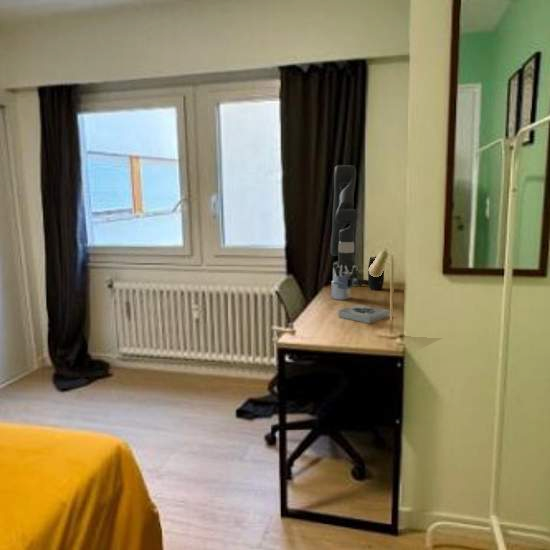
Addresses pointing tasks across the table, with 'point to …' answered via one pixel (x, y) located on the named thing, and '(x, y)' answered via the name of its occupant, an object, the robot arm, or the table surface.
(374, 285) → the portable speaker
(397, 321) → the table surface
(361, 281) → the adjustable wrench
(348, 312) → the chassis
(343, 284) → the servo
